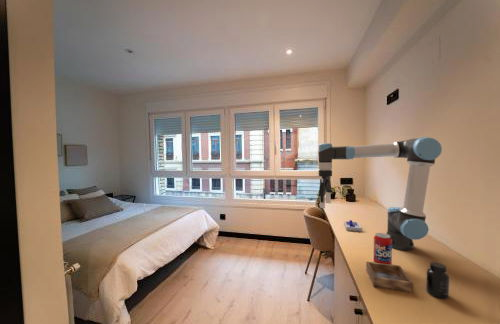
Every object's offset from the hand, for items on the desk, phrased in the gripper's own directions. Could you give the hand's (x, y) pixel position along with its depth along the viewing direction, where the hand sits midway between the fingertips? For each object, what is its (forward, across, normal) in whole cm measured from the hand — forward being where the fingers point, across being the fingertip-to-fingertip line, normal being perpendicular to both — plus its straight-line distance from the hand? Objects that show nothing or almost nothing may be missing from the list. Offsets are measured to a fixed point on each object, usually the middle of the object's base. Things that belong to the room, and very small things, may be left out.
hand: (325, 205), depth 127 cm
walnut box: (+26, +19, +31) cm, 45 cm away
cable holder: (+26, -45, +8) cm, 53 cm away
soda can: (+26, +4, +29) cm, 39 cm away
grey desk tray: (+26, -45, +8) cm, 53 cm away
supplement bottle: (+26, +19, +48) cm, 58 cm away
